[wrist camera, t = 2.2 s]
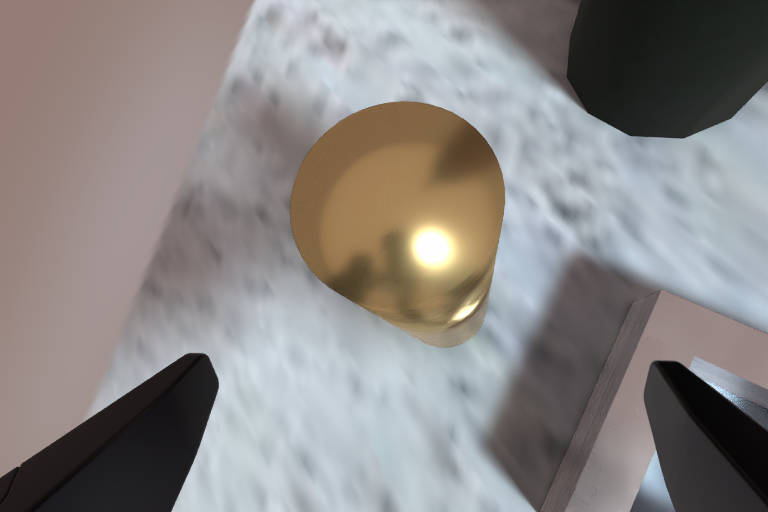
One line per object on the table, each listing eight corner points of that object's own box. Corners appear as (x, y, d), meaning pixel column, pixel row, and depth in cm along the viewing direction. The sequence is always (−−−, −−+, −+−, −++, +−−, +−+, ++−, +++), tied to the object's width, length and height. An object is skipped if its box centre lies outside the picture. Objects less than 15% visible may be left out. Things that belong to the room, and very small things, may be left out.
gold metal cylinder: (463, 363, 19) (442, 348, 7) (387, 323, 20) (253, 249, 8) (501, 285, 19) (542, 144, 7) (424, 249, 20) (352, 75, 8)
